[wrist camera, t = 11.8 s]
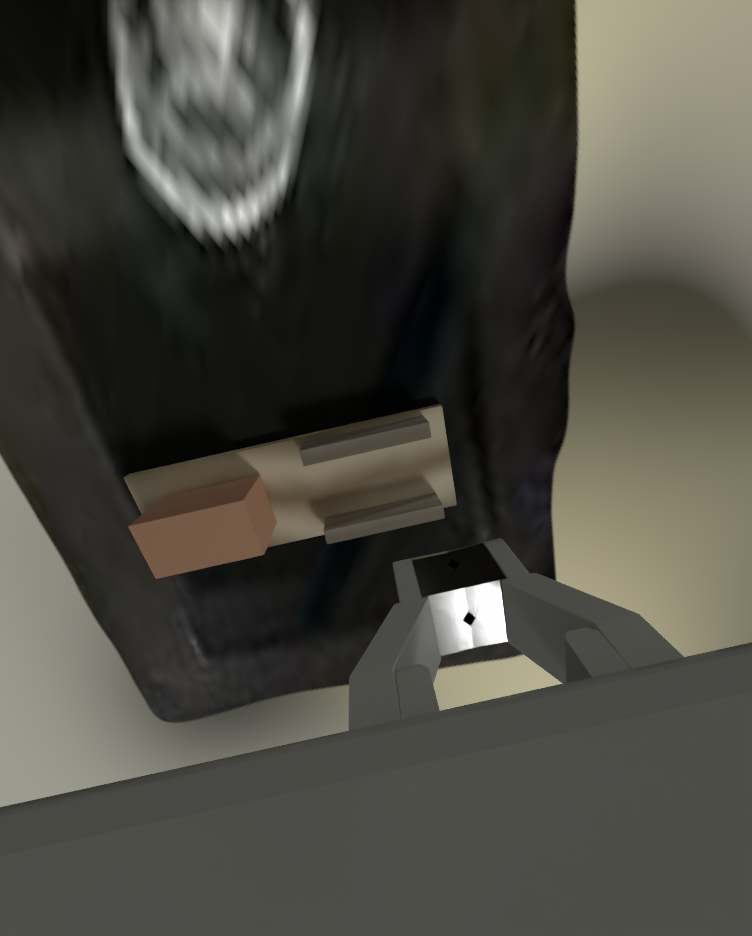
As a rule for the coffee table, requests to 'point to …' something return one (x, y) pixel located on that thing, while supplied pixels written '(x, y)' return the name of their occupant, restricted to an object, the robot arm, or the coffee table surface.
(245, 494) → the terracotta block
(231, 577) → the coffee table surface
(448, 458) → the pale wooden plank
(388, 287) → the coffee table surface
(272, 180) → the coffee table surface
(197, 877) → the robot arm
